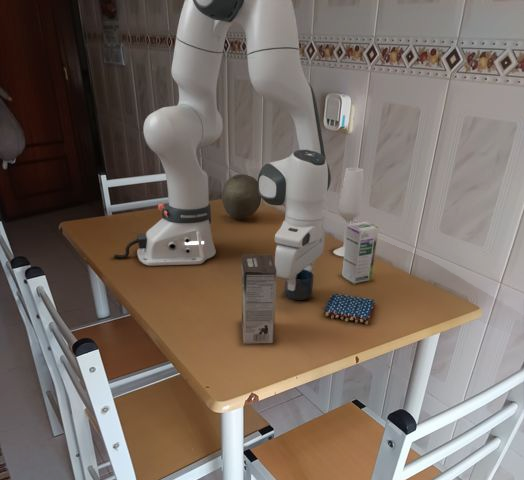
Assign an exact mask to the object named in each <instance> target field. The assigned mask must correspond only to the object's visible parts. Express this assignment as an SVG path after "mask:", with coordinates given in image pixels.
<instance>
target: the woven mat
mask: <svg viewBox="0 0 524 480" xmlns="http://www.w3.org/2000/svg"><path fill="white" fill-rule="evenodd" d="M375 307H376V302H375V300H374V299H369V298H365V297H364V298H363V297H357V296H354V297H353V296H351V295H347V294H345V295H344V294H339V293H335V294H334V293H333V294H331V297H330V299H328V302H327V305H325V308H324V312H323V315H325V317H329V316H330V318H331V319H334V318H336V319H339V317H340V320H341V321H342V320H344V321H345V322H346V323H347V322H348V321H349V320H350V321H354V322H355V323H356V324H357V323H358V322H360V323H364V325H366V326H367V325H368V324H369V322H370V320H371V319H372V316H373V311H374V310H375ZM344 318H345V319H344Z"/></svg>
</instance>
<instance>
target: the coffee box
mask: <svg viewBox="0 0 524 480" xmlns="http://www.w3.org/2000/svg"><path fill="white" fill-rule="evenodd" d="M276 294H277V271H276V268H275V260H274V258H273V255H272V254H260V253H259V254H257V253H256V254H255V253H254V254H253V253H252V254H248V253H247V254H246V253H245V254H241V327H242V337H243V344H244V345H245V344H273V343H274V334H275V333H274V332H275V316H276V299H277V298H276Z"/></svg>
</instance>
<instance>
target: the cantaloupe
mask: <svg viewBox="0 0 524 480" xmlns="http://www.w3.org/2000/svg"><path fill="white" fill-rule="evenodd" d="M221 201H222V205H223V208H224V210H225V212H226V214H228V215H229V216H230V217H232V218H233V219H235V220H246V219H247V218H250V217H251V216H253V215H254V214H256V212H257V211H258V209H259V208H260V206H261V202H262V197H261V196H260V194H259V191H258V179H256V178H255V177H254V176H251V175H248V174H243V173H241V174H240V173H239V174H235V175H233V176H231V177H230V178H228V179H227V180H226V182H225V183H224V186H223V189H222V191H221Z"/></svg>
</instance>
